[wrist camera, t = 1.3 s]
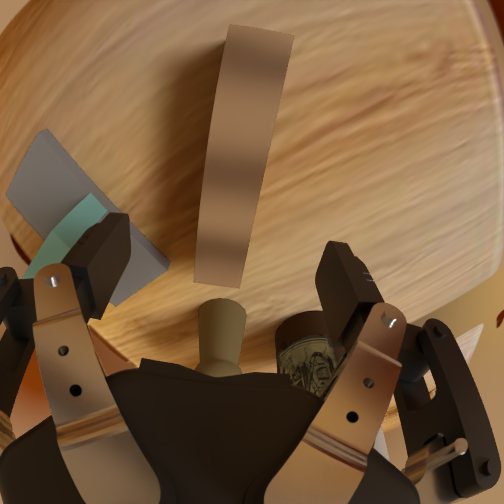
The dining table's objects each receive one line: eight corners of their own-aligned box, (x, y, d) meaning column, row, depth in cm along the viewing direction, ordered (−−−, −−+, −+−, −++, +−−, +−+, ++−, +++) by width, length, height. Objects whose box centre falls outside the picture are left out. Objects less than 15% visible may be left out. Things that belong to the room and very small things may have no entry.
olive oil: (354, 337, 38) (396, 498, 17) (290, 362, 41) (307, 518, 20) (332, 294, 33) (387, 505, 12) (256, 326, 35) (264, 525, 15)
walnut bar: (233, 38, 17) (229, 24, 12) (282, 47, 18) (294, 35, 13) (201, 244, 28) (193, 282, 23) (240, 249, 29) (239, 288, 24)
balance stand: (12, 190, 23) (-32, 226, 16) (47, 128, 20) (-9, 155, 13) (119, 298, 32) (97, 351, 25) (170, 261, 29) (151, 320, 22)
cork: (190, 319, 34) (178, 395, 25) (212, 290, 32) (203, 373, 23) (230, 336, 36) (228, 409, 27) (256, 311, 34) (259, 390, 25)
